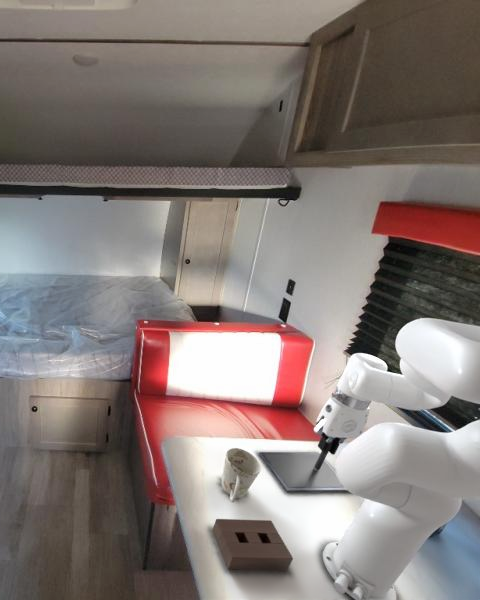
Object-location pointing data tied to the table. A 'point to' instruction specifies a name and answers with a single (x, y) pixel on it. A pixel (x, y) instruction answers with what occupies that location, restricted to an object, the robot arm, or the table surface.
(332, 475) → the tablet
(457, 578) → the table surface
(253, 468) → the mug
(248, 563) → the pen stand
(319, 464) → the stylus
